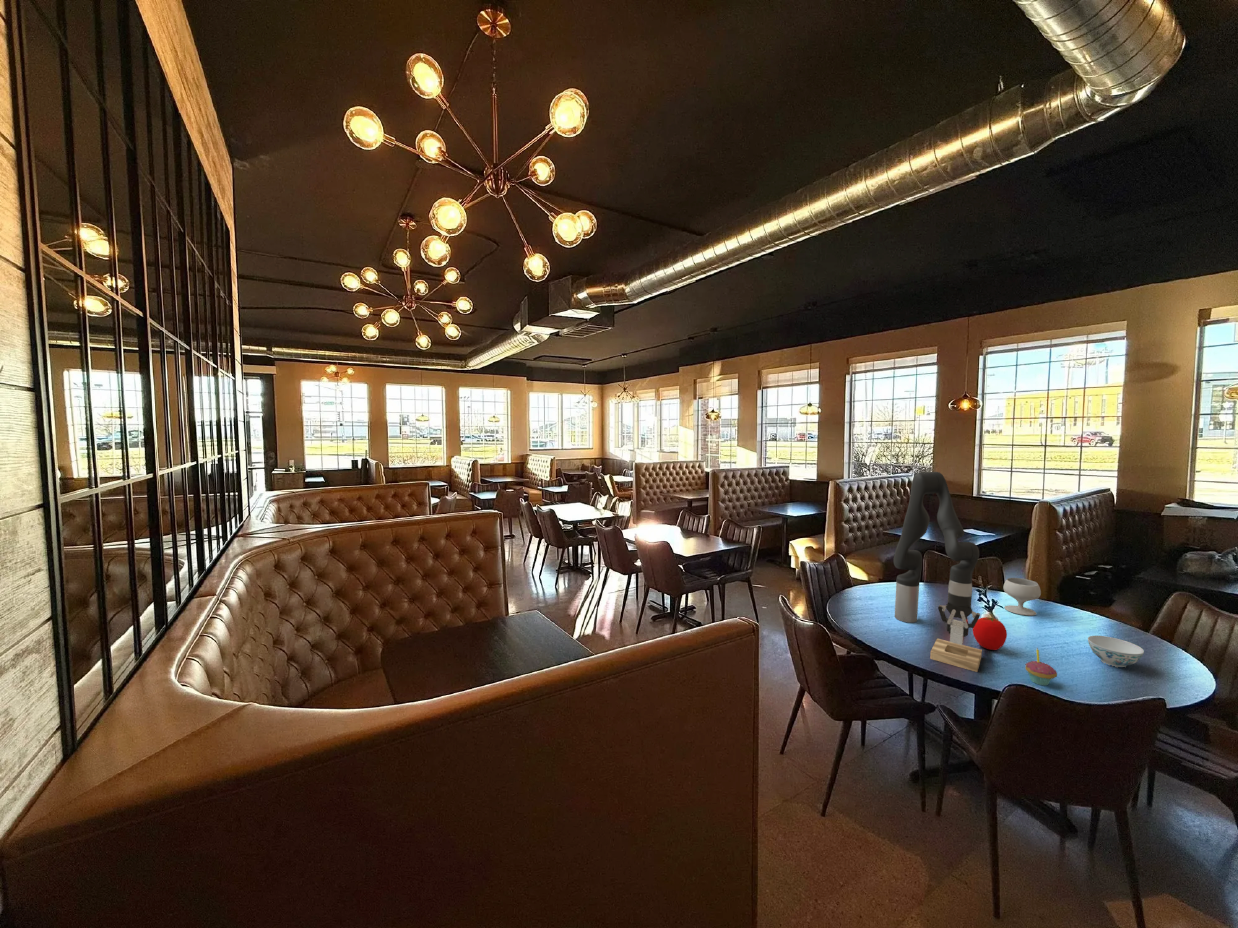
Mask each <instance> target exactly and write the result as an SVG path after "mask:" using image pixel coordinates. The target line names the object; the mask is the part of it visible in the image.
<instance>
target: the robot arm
mask: <svg viewBox="0 0 1238 928" xmlns="http://www.w3.org/2000/svg"><path fill="white" fill-rule="evenodd" d="M931 494H935V495H936V496H937V497H938V500H939V505H938V510H937V514H936V521H937V523H938V526H939V528H940V531H941V533H942V534H943V538H944V539H943V540H944V546H945V547H944V549H945V553H946V555H947V556H948V557H949V558H950V559H951V561H958V562H959V561H960V562H959V563H957V564H955V565H954V564H953V565H952V566H950V569H949V570H950V573H949V582H948V587H947V590H948V592H947V602H946V604H945V605H942V604H940V605H938V607H937V609H938V612H939V616H940V618H941V619H940V620H941V621H942V622H944V623H946V631H947V633H948V634H950V633H951V627H950V626H951V623H952V621H953V619H955V618H958V619H960V620H961V621H963V623H964V632H963V637H964V638H966V637H967V636H968V635H969V629H973V628H974V626H975V624H976V623H977V621H978V619H980V618H981V613H980V612H975V611H973V609H972V596H973V572H974V570H975V568H976V566H977V563H978V561H979V558H980V550H979V547H978V545H977V544H976V543H974V542H972V541H971V542H970V541H958V539H960V538H963V536H964V535H965V530H964V528H963V525H962V524H961V522H960V519H959V518H958V515H957V514H956V511H955V507H954V504H953V501H952V497H951V493H950V489H949V487H948V483H947V480H946V478H945V477H944V475H943V474H942V473H941V472H939V471H927V472H917V473H915V475H914V476H913V478H912V482H911V487H910V494H909V503H908V506H907V510H906V513H905V516H904V521H903V524H902V525H903V526H902V530H901V535H900V537H899V540H898V543H897V545H896V548H895V551H894V554H893V565H894V567H895V568H896V569H898V570H905V571H906V570H907V571H906V572H904V573H902V574H898V575H897V576H896V581H895V583H896V585H895V601H894V618H895V619H896V620H897V621H900V622H903V623H917V622H918V612H919V597H920V595H919V594H920V582H921V577H922V569H923V568H922V567H923V555H922V553H921V552H920V551H919V550H916V549H910V548H911V547H912V546H913V545H914V544H915V543H917V542H918V541H919V540H920V539H922V538H923V537H924V536H925V535H926V533H927V530H928V527H929V523H930V515H929V512H928V511H927V509H926V508H925V505H924V503H923V502H924V497H925V495H931ZM946 610H947V611H948V613H949V614H950V615H949V616H948V618H947V616H946V613H945V611H946ZM970 615H972V618H973V619H972V621H971V623H969V619H968V617H969V616H970Z"/></svg>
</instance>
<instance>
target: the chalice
mask: <svg viewBox="0 0 1238 928" xmlns="http://www.w3.org/2000/svg"><path fill="white" fill-rule="evenodd" d="M1002 589H1003V591H1004V592H1005V594H1007V595H1008V596H1010V597H1011V598H1013V599H1014V600H1015V601H1016V602H1017V605H1014V604H1013V605H1009V604H1007V605H1005V606H1004V609H1005V610H1006V611H1008V612H1010V613H1013V614H1017V615H1021V616H1028V617H1029V616H1030V617H1032V616H1036V615H1037V612H1036V611H1035V610H1033V609H1031V608H1028V607H1024V604H1025V603H1026V602H1030V601H1034V600H1038V599H1039V598H1040V597H1041V594H1042V591H1041V587H1040V585H1039V584H1038V582H1037V581H1033V580H1030V579H1027V578H1021V577H1008V578H1007V579H1006V580H1005V581H1004V584H1003V588H1002Z"/></svg>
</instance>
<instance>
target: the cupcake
mask: <svg viewBox="0 0 1238 928" xmlns="http://www.w3.org/2000/svg"><path fill="white" fill-rule="evenodd" d="M1035 651H1036V660H1031V661H1028V662H1026V663H1025V667H1024V669H1025V670H1026V672H1027V673H1028V676H1029V679H1030V681H1031V682H1033V683H1034V684H1036V685H1039V686H1049V684H1050V682H1051V681H1052V679H1055V678H1057V676H1058V672H1057V671H1056V669H1055V668H1054V667H1053V666H1051V665H1049V664H1048V663H1045V662H1042V661H1040V650H1039V649H1038V647H1036V649H1035Z"/></svg>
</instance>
